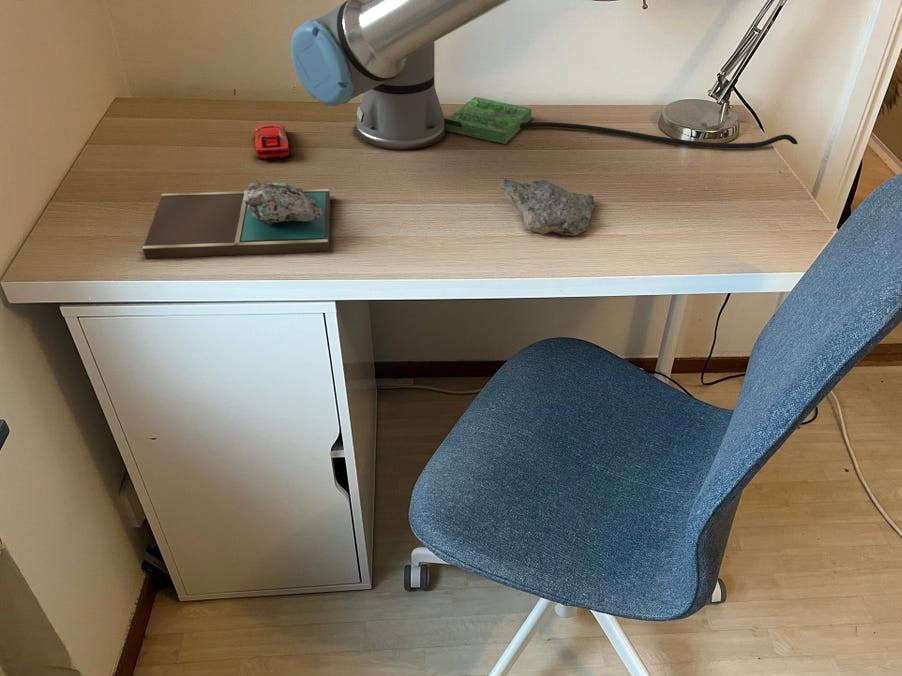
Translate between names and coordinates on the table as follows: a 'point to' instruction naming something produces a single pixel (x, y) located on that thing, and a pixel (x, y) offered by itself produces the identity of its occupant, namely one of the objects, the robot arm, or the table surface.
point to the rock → (550, 207)
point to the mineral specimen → (280, 203)
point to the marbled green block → (489, 120)
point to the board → (230, 227)
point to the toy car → (271, 141)
